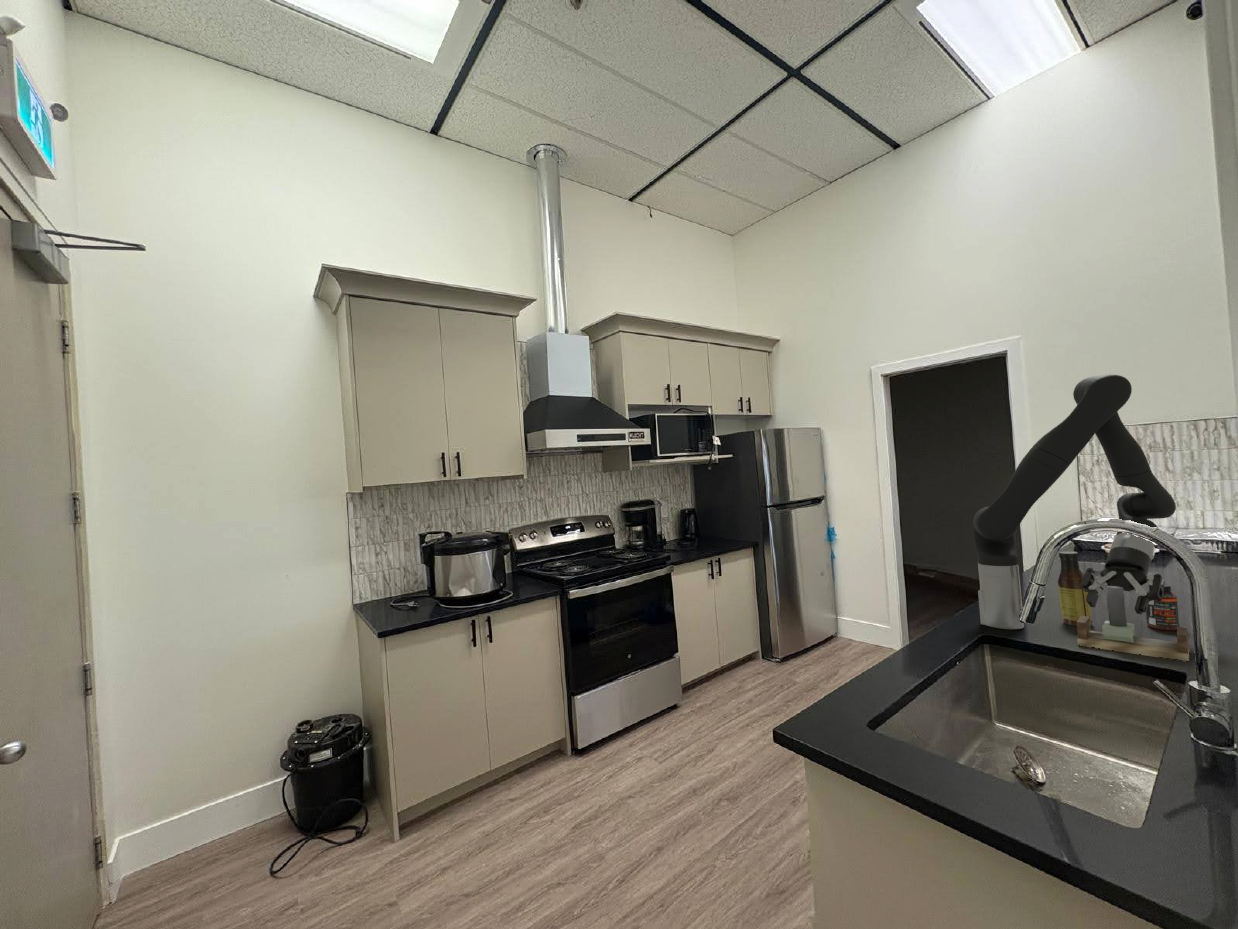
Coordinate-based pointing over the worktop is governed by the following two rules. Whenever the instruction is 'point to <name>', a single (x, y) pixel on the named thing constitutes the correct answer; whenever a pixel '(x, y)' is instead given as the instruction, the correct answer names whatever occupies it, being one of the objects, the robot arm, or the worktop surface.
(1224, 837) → the worktop surface
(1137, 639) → the rail board
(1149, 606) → the supplement bottle
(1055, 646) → the worktop surface
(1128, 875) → the worktop surface
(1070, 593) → the sauce bottle
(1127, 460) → the robot arm
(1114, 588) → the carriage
